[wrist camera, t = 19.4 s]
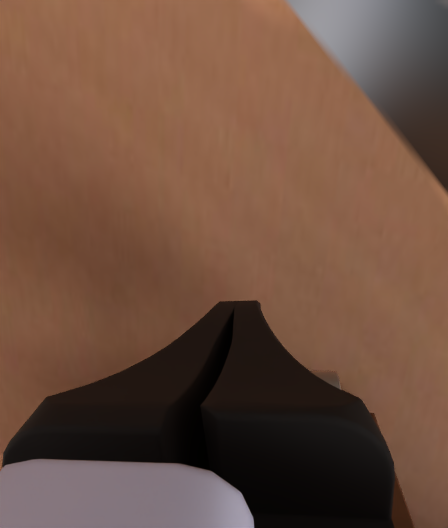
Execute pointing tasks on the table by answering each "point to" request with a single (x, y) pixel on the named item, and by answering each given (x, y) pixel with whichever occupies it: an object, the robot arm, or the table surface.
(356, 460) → the robot arm
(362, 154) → the table surface
